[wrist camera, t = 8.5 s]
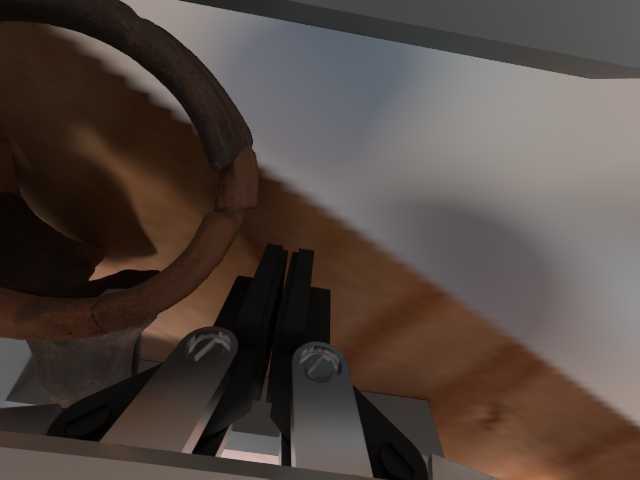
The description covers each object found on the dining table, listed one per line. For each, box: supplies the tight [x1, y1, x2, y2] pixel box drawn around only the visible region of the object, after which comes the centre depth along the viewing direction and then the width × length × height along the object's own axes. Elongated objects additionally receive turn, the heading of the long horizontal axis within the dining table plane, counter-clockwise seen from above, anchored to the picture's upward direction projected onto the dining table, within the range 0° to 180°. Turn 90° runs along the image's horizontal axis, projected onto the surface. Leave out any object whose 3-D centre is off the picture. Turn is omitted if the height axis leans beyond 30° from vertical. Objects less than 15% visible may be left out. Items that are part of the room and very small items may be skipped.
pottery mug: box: [0, 0, 258, 408], centre depth 10 cm, size 12×9×8 cm
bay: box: [0, 0, 640, 458], centre depth 11 cm, size 22×19×4 cm
